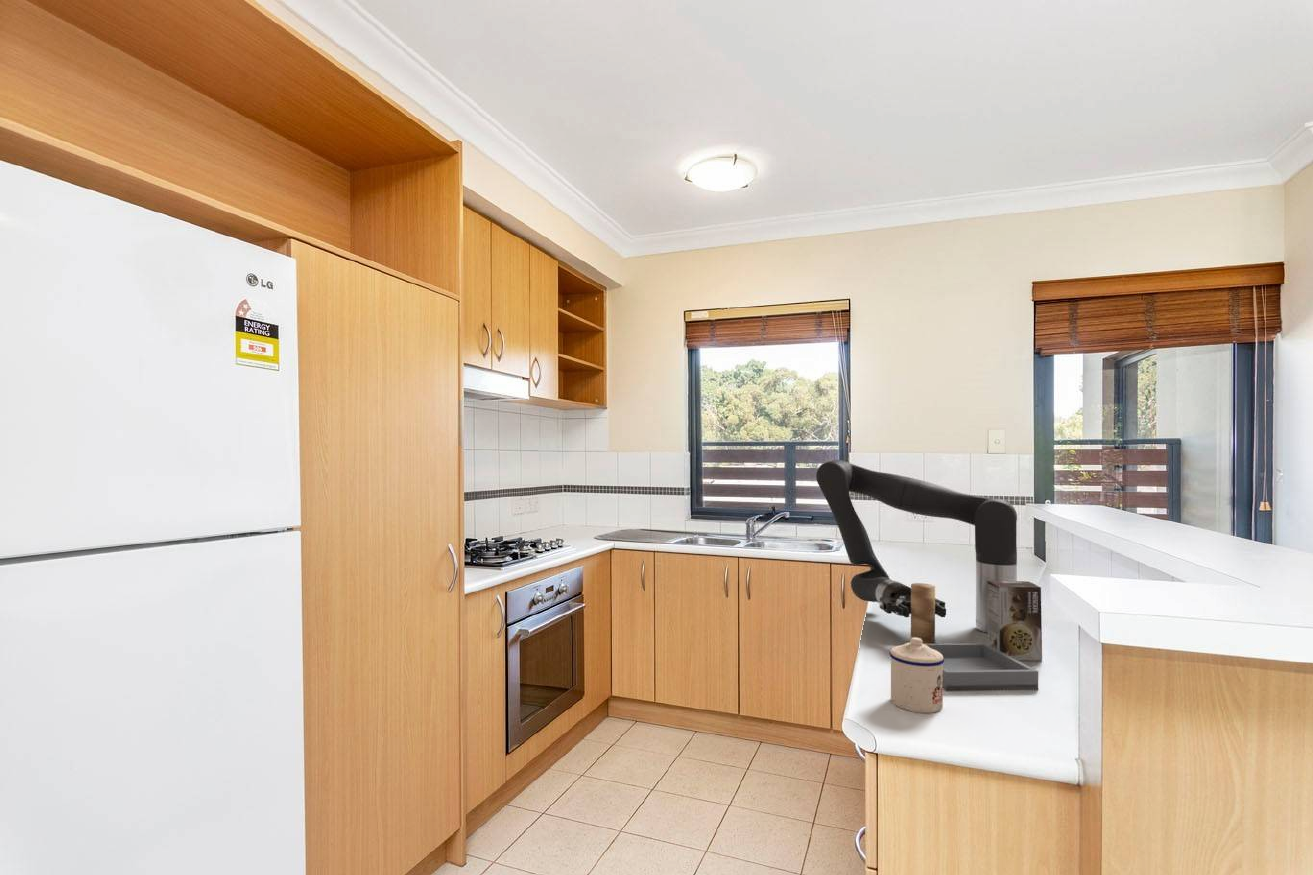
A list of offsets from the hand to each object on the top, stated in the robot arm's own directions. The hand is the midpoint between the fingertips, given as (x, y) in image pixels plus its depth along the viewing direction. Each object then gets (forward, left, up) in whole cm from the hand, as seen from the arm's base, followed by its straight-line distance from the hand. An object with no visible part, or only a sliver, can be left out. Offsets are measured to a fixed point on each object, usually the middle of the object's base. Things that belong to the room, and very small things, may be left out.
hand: (926, 612), depth 149 cm
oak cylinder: (0, -2, -8) cm, 8 cm away
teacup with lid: (+17, +31, -8) cm, 36 cm away
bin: (0, +17, -8) cm, 19 cm away
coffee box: (-17, +6, -8) cm, 20 cm away
